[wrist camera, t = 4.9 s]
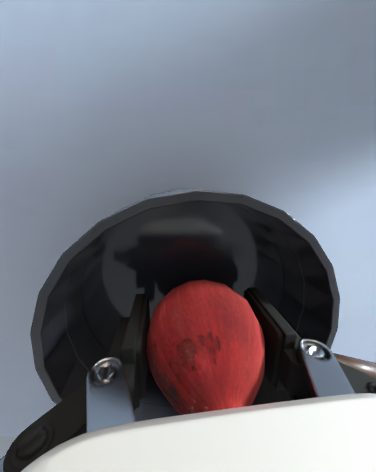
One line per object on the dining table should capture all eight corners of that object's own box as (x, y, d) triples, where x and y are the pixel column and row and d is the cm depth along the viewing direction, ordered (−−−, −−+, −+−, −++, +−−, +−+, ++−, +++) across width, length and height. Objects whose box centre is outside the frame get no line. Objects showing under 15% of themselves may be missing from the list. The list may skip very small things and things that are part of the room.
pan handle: (293, 358, 12) (309, 379, 11) (303, 341, 12) (321, 361, 11) (393, 379, 14) (417, 399, 13) (404, 365, 14) (429, 384, 13)
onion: (144, 324, 13) (115, 515, 6) (162, 251, 12) (155, 369, 4) (219, 334, 14) (281, 506, 7) (243, 267, 13) (356, 387, 5)
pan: (110, 150, 10) (73, 125, 6) (320, 233, 14) (393, 255, 9) (57, 358, 14) (7, 439, 9) (237, 387, 17) (263, 458, 12)
